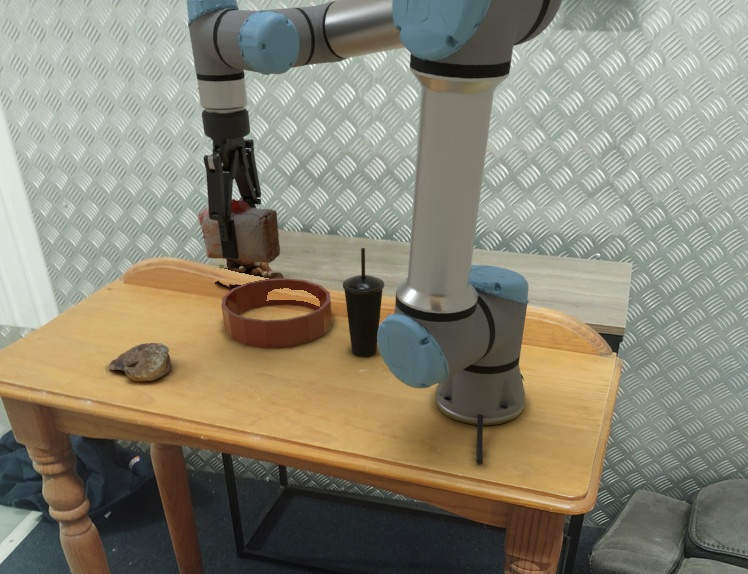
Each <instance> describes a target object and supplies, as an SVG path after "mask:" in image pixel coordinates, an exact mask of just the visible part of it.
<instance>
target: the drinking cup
mask: <svg viewBox="0 0 748 574" xmlns="http://www.w3.org/2000/svg"><path fill="white" fill-rule="evenodd" d="M360 261H361V262H360V265H361V266H360V267H361V272H360V273H361V274H357V275H354V276H352V277H348V278H347V279H345V280H344V281H342V289H343V290H344V297H345V305H346V313H347V321H348V322H347V323H348V331H349V340H350V346H351V353H352V354H353V355H354V356H356V357H359V358H368V357H373V356H374V355H375V354H376V353H377V350H378V349H377V348H378V342H377V333H378V328H379V326H380V320H381V312H382V311H381V309H382V298H383V289H384V288H385V282H384V280H383V279H381V278H379V277H376V276H374V275H370V274H366V248H365V247H361V248H360Z"/></svg>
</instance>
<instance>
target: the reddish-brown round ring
mask: <svg viewBox="0 0 748 574" xmlns="http://www.w3.org/2000/svg"><path fill="white" fill-rule="evenodd" d="M280 288H281V289H283V288H289V289H291V290H304V291H307V292H308V293H311V294H312V295H314V296H316V298H318V299H319V301H320V307H321V308H320V307H319V306H316V305H314V304H311V303H308V302H304V301H296V300H269V301H266V300H267V295H268V292H270V291H272V290H274V289H280ZM270 305H293V306H295V305H296V306H304V307H308V308H310V309H314V310H313V311H312V312H309V313H307V314H305V315H299V316H295V317H289V318H284V319H259V318H249V317H245V316H242V315H241V314H242V313H244V312H247V311H249V310H252V309H255V308H260V307H264V306H270ZM220 307H221V313H222V320H223V327H224V332H225V333H226V334H227V335H228V336H229V337H230V338H231V340H232V341H236V342H238V343H241V344H243V345H245V346H250V347H257V348H265V349H277V348H291V347H295V346H299V345H303V344H307V343H311V342H313V341H315V340H317V339H318V338H320V337H323V336H325V335H326V334H327V332H328V331H329V330H330V329H331V327H332V325H333V323H332V300H331V293H330V291H328V289H326V288H325V287H324V286H322V285H321V284H318V283H316V282H312V281H309V280H306V279H297V278H289V277H284V278H281V279H265V280H259V281H254V282H249V283H246V284H243V285H241V286H236V287H234V288H231V289H230V290H229V291H228V292H227V293H225V294H224V295H223V296H222V299H221V305H220Z"/></svg>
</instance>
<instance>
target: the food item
mask: <svg viewBox="0 0 748 574" xmlns="http://www.w3.org/2000/svg"><path fill="white" fill-rule="evenodd" d="M197 217H198V218H197V219H198V222H199V225H200V228H201V232H202V238H203V241H204V246H205V252H206V258H208V259H215V260H217V259H220V260H221V259H222V260H226V259H231V258H223V254H222V247H221V240H220V233H219V226H218V222H217V221H216V220H210V218H209V207H208V206H206V207H204V208H203V209H202V210H201V211H200V212H199V213H198V214H197ZM231 220H234V225H235V233H236V240H237V248H238V256H239V258H238V259H234V260H245V261H253V262H265V263H268V264H270V263H272V262H274V261H275V260H276V259H277V258H278V257H279V256H280V254H281V246H280V245H281V244H280V239H279V237H280V234H279V224H278V213H277V211H276V210H275V209H269V208H258V207H256V208H250V207H249V205H248V204H247V203H246V202H244V201H243V198H242V197H241V196H240V197H239V199H237V200H236V199H235V198H232V206H231Z"/></svg>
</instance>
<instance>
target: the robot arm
mask: <svg viewBox="0 0 748 574" xmlns="http://www.w3.org/2000/svg"><path fill="white" fill-rule="evenodd" d="M562 2H563V0H332V1H329V2H325V3H321V4H317V5H310V6H301V7H287V8H285V7H284V8H272V9H260V10H259V9H257V10H250V9H239V6H238V2H237V0H186V8H187V19H188V21H187V27H188V30H189V38H190V43H191V44H190V45H191V50H192V57H193V64H194V70H195V76H196V82H197V84H196V88H197V89H196V90H198V94H199V105H200V106H201V108H203V110H202V111H201V120H202V126H203V133H204V135H205V136H206V137H208V138H209V139H210V140H211V141H212V151H211V152H212V153H211V154H210V155H208V154H205V155H203V164H204V168H205V173H206V188H207V189H206V190H207V191H206V192H207V204H208V205H207V207H209V218H210V220H216V221H217V222H218V226H219V233H220V240H221V247H222V254H223V258H231V259H238V258H239V256H238V248H237V240H236V233H235V225H234V220H231V206H232V200H233V188H234V187H233V186H234V181H235V184H236V187H237V190H238V193H239V195H240V198H241V197H242V198H243V201H244V202H246V203H247V204H248V205H249V207H250V208H257V205H258V206H259V205H261V204H262V198H261V197H262V191H261V184H260V180H259V179H260V178H259V173H258V168H257V162H256V157H255V142H254V140H253V139H249V138H248V139H247V138H246V137H247V136H248V135H250V134H251V127H250V126H251V125H250V117H249V111H248V109H247V108H245V107H246V106H247V105H248V104H249V102H248V93H247V86H246V78H245V76H246V75H245V71H248V72H254V73H258V74H259V73H260V74H261V75H264V76H265V75H266V76H269V75H282V74H285V73H287V72H288V71H289V70H291V69H292V68H299V67H304V66H312V65H319V64H328V63H331V64H332V63H339V62H343V61H345V60H348V59H351V58H356V57H361V56H367V55H373V54H377V53H382V52H388V51H392V50H393V51H394V50H399V49H404V48H405V49H406V50H407V51H408V53H409V54H410V57H409V71H410V72H411V74H412V75H413V76H414V77H415V79H416V80H417V81H418V83H419V85H420V99H419V102H420V103H419V115H418V127H417V128H418V130H417V140H416V141H417V143H416V156H415V157H416V158H415V171H414V183H413V184H414V185H413V199H412V211H411V227H410V240H409V241H410V242H409V254H408V266H407V267H408V270H407V277H406V278H405V279H404V280H402V281H401V282H400V283H399V284H398V285H397V286H396V290H395V301H394V313H391V314H388V315H387V316H386V317H385V318H384V319H383V321H381V323H379V328H378V333H377V348H378V351H379V354H380V356H381V359H382V361H383V363H384V364H385V365H386V366H387V368H388V370H389V372H390V373H391V374H392V375H393V376H394V377H395V378H396V379H397V380H398V381H399V382H401V383H403V384H404V385H406V386H407V387H411V388H414V389H427V388H430V387H432V386H435V385H437V386H436V390H435V405H436V407H437V409H438V410H439V412H441V413H442V414H443V415H445V416H446V417H448V418H450V419H452V420H454V421H457V422H459V423H463V424H466V425H467V424H468V425H472V426H473V425H474V426H476V427H477V428H476V463H477V464H478V465H481V464H483V461H484V459H483V457H484V455H483V452H484V451H483V449H484V447H483V444H484V443H483V442H484V441H483V439H484V436H483V435H484V426H494V425H495V426H496V425H501V424H504V423H508V422H511V421H513V420H515V419H517V418H518V417H519V416H520V415H521V414H522V413H523V411H524V410H525V409H524V408H525V402H526V392H525V386H524V382H525V379H524V376H523V374H522V373H521V368H520V357H521V351H522V344H523V339H524V338H523V337H524V330H525V322H526V318H527V317H526V316H527V309H528V304H529V282H528V280H527V279H526V277H525V276H523V275H522V274H520V273H519V272H516V271H515V270H512V269H508V268H505V267H500V266H494V265H488V264H487V265H485V264H472V262H473V254H474V248H475V239H476V231H477V226H478V225H477V224H478V217H479V208H480V201H481V194H482V187H483V186H482V185H483V178H484V170H485V164H486V154H487V147H488V139H489V133H490V124H491V117H492V109H493V101H494V95H495V91H496V89H497V88H498V87H499V86H500V85H501V84H502V83H503V82H504V81H505V80H506V79H508V78H509V77H510V71H511V66H512V65H511V64H512V58H513V51H514V46H515V47H516V46H519V45H522V44H524V43H527V42H530V41H532V40H533V39H535V38H536V37H538V36H539V35H541V34H542V33H543V32H544V31H545V30H546V29H547V28H548V27H549V26H550V24H551V23H552V22H553V21H554V19H555V17H556V15H557V14H558V12H559V10H560V7H561V5H562Z"/></svg>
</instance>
